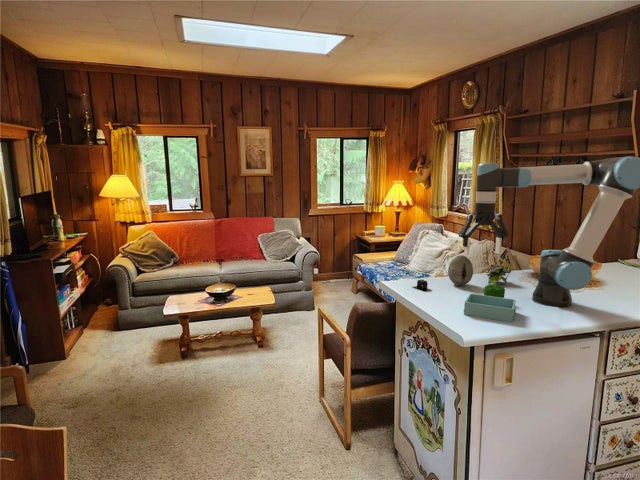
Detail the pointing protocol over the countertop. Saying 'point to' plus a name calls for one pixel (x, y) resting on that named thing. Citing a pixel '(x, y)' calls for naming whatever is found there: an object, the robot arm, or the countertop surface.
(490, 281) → the green leafy plant
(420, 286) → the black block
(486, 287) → the bell pepper
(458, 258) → the decorative egg
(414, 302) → the countertop surface
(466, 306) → the green planter box
